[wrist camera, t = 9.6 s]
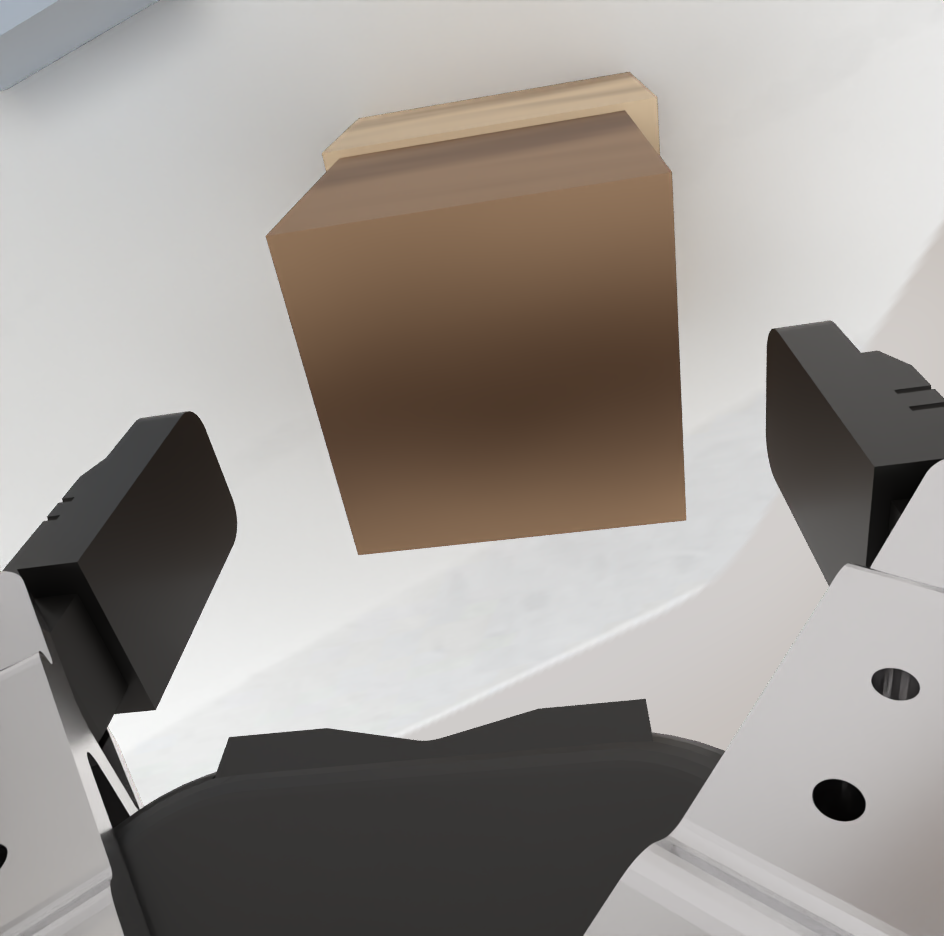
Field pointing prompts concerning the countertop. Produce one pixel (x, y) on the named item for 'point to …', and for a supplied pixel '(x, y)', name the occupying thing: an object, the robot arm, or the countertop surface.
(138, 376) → the countertop surface
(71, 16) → the slate block
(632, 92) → the oak base block
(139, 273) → the countertop surface
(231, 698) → the countertop surface
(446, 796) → the robot arm
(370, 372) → the walnut block
